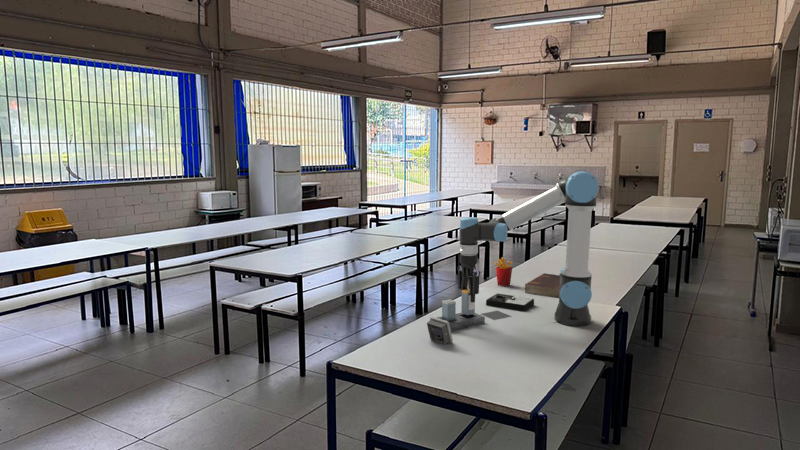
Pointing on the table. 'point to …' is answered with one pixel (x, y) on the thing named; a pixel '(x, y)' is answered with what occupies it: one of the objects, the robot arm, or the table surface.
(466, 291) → the plug
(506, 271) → the french fries
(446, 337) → the electrical switch
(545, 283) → the hardback book
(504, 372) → the table surface
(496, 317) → the mat
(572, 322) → the robot arm
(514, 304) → the multimeter
